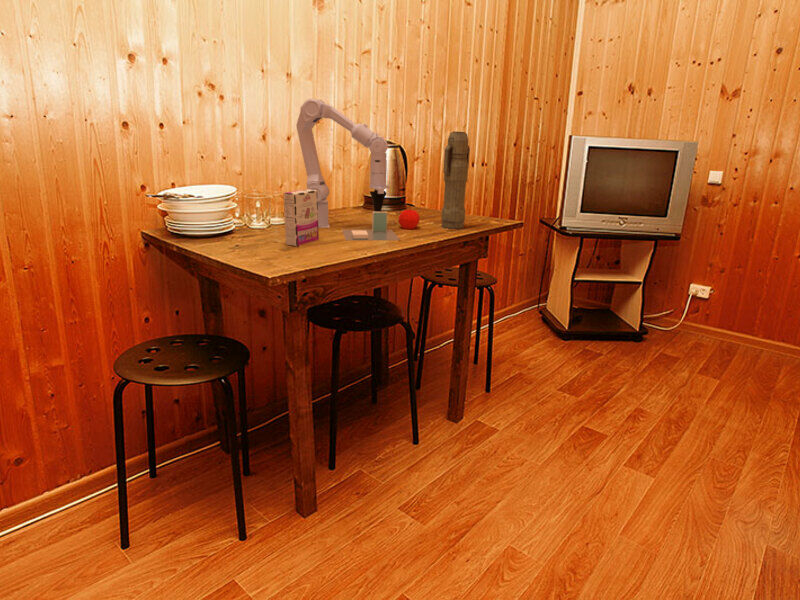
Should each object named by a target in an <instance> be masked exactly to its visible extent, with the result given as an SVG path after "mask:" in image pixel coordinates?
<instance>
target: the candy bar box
mask: <svg viewBox="0 0 800 600" xmlns="http://www.w3.org/2000/svg"><path fill="white" fill-rule="evenodd" d="M283 211H284V212H283V213H284V230H285V245H286V246H291V247H296V248H297V247H300V245H303V244H307V243H310V242H315V241H318V240H319V237H320V236H319V235H320V234H319V227H318V200H317V190H309V189H307V188H306V189H300V190H293V191H288V192H283Z"/></svg>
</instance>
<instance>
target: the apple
mask: <svg viewBox="0 0 800 600" xmlns="http://www.w3.org/2000/svg"><path fill="white" fill-rule="evenodd" d="M420 220H421V218H420V215H419V213H418V212H417V210H413V209H405V210H403V211H401V212H400V214H399V216H398V223H399V225H400V226H401V228H402V229H405V230H413V229H415V228H417V226H418V225H419V223H420Z"/></svg>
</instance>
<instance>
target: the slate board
mask: <svg viewBox="0 0 800 600" xmlns="http://www.w3.org/2000/svg"><path fill="white" fill-rule="evenodd" d="M351 230H352V229H341V231H342V234H343V236H344V237H343V238H344V240H345V241H401V239H400V237H399V236H397V234H396V233H395V232H394V230H393V229H387V232H372V229H365V230H366V231H367V233H368V239H353V237H352V235H351Z"/></svg>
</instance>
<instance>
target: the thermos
mask: <svg viewBox="0 0 800 600" xmlns="http://www.w3.org/2000/svg"><path fill="white" fill-rule="evenodd" d="M468 137H469V136H468V133H467V132H465V131H452V132H450V133H449V135H448V139H447V145H446V146H445V148H444V156H443V157H444V158H443V181H444V194H443V205H442V208H441V216H440V217H441V218H440V219H441V225H440V226H441V228H443V229H447V228H448V229H449V230H461V228H462V229H464V228H465V226H464V225H465V220H466V219H465V218H466V208H465V200H466V186H467V185H466V184H467V181H468V176H469V163H470V154H471V153H470V152H471V151H470V150H471V149H470V146H469V138H468Z"/></svg>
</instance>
